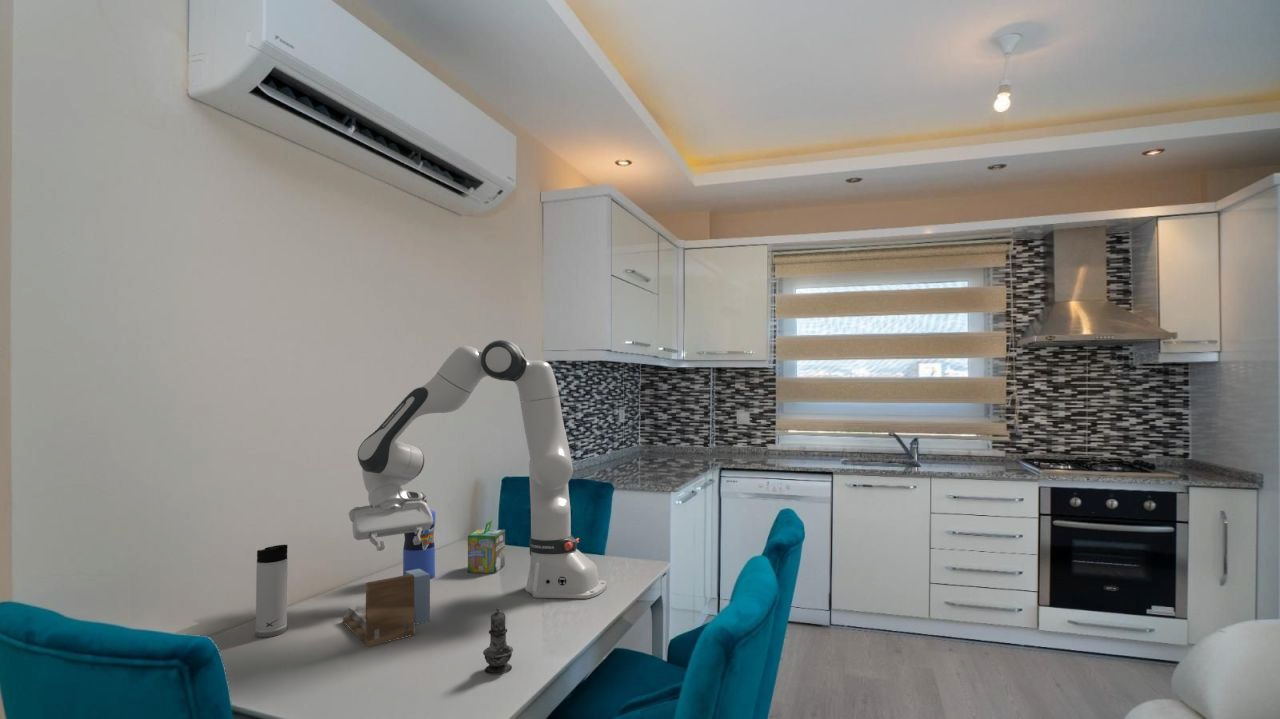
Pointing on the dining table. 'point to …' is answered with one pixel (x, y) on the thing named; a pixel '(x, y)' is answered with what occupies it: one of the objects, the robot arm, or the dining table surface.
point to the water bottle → (420, 550)
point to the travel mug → (271, 591)
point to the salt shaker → (498, 646)
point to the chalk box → (486, 550)
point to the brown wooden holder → (385, 611)
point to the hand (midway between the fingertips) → (399, 546)
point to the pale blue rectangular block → (421, 595)
